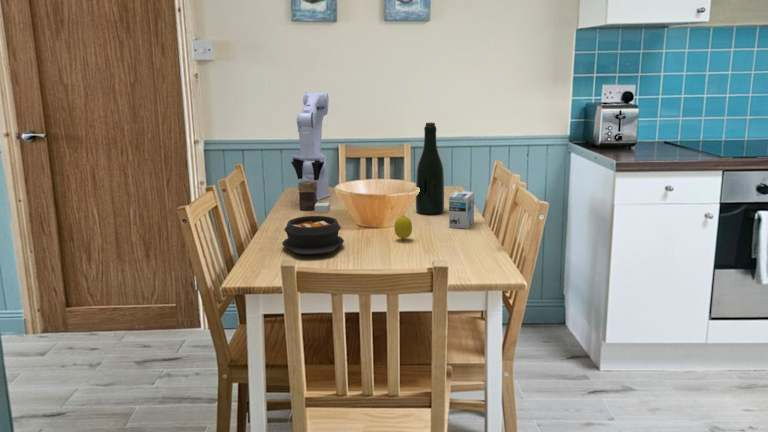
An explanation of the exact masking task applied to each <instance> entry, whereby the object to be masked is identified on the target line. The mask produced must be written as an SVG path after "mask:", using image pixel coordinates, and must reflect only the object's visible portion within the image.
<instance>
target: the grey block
mask: <svg viewBox="0 0 768 432" xmlns="http://www.w3.org/2000/svg"><path fill="white" fill-rule="evenodd" d="M330 203H331V202H328V203H318V202H317V203H316V204H315V210H314V214H323V213H324V214H329V212H330V210H331V205H330Z"/></svg>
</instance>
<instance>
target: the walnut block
mask: <svg viewBox="0 0 768 432" xmlns="http://www.w3.org/2000/svg"><path fill="white" fill-rule="evenodd" d="M297 184H298V192H300V191H305V192H311V191H314V190H317V182H313V181H306V180H304V181H301V182H298V183H297Z"/></svg>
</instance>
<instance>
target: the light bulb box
mask: <svg viewBox="0 0 768 432" xmlns="http://www.w3.org/2000/svg"><path fill="white" fill-rule="evenodd" d="M448 200H449V201H448V203H449V204H448V206H449V207H448V210H449V211H448V228H453V229H464V230H466V229H467V230H468V229H470V228H469V227H471V226H472V224H473V223H474V221H475V192H474V191H465V190H464V191H462V190H455V191H454V192H453V193H452V194H451V195H449V197H448Z"/></svg>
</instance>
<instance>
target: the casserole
mask: <svg viewBox="0 0 768 432" xmlns="http://www.w3.org/2000/svg"><path fill="white" fill-rule="evenodd" d="M341 228H342V227H341V225H340V223H339V222H338V220H337V218H334V217H331V216H324V215H307V216H299V217H295V218H292V219H289V220H288V221H287V224H286V226H285V228H284V232H285V233H286V235H287V238H285V239H284V240H283V241H282V244H281V245H282V246H283V247H284V248H287V249H289V250H290V251H292V252H294V253H295V254H297V255H307V256H308V255H323V254H329V253H333V252H335V250H336V249H337V248H338V247H340V246H342V245H343V244H344V242H345V240H344V239H343V237H341V236H339V231H340V230H341Z"/></svg>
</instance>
